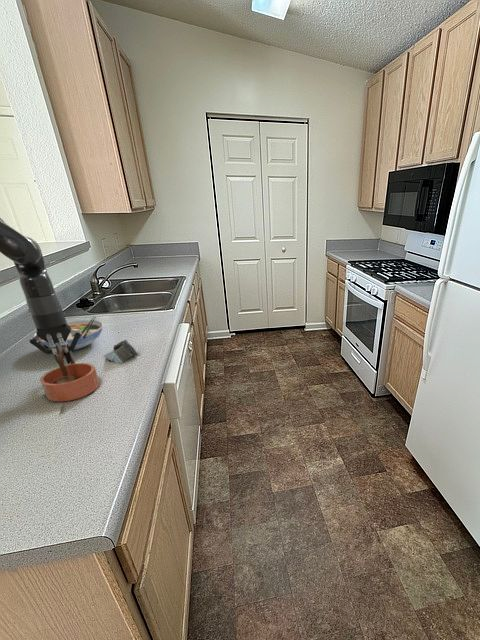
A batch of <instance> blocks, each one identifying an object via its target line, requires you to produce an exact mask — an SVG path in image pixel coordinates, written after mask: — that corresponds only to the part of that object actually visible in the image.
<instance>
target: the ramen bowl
mask: <svg viewBox="0 0 480 640" xmlns="http://www.w3.org/2000/svg"><path fill="white" fill-rule="evenodd" d="M66 322H67V324H68V325H69V326H70V327H71V329H73V330H76V331H77V330H80V331H81V334H80V337H79V339H78V341H77V344H76V346H75V349H74V350H71V352H72V351H73V352H74V351H78V350H81V349H83V348H85V347H86V346H89V345H90V344H92V343H94V342H95V341H96V340H98V338H99V337H100V335H101V334H102V331H103V328H104V322H103V321H100V320H97V319H96V317H95V316H93V317H92V318H91V319H75V320H70V321H66ZM36 335H37V334H36V332H35V333H34V335H33V337H34V336H36ZM73 338H74V337H72V334H71V333H70V334H69V336H68V338H67V341H68V344H69V345H71V343H72V341H73ZM40 339H41V338H40ZM41 342H43V343H44V344H45V345H47V346H48V347H50V345H49V343H47V342H46V341H44V340H43V339H41ZM57 346H58V349H59V347H60V343H57Z"/></svg>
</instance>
